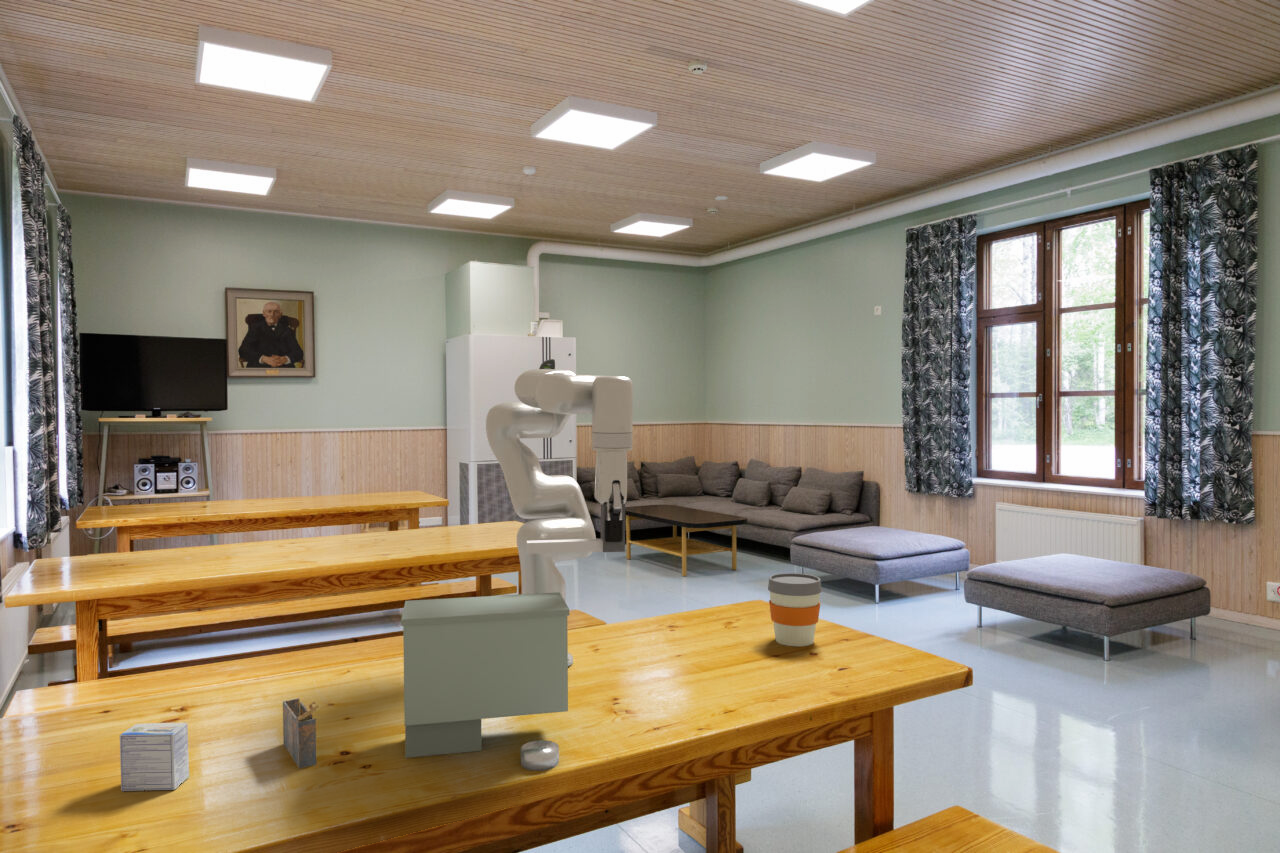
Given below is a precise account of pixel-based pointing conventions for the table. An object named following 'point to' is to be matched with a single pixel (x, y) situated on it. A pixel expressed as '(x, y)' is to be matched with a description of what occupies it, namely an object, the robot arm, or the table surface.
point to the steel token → (539, 755)
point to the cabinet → (480, 666)
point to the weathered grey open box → (300, 732)
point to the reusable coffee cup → (794, 607)
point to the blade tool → (580, 541)
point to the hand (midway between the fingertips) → (611, 538)
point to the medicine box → (154, 756)
